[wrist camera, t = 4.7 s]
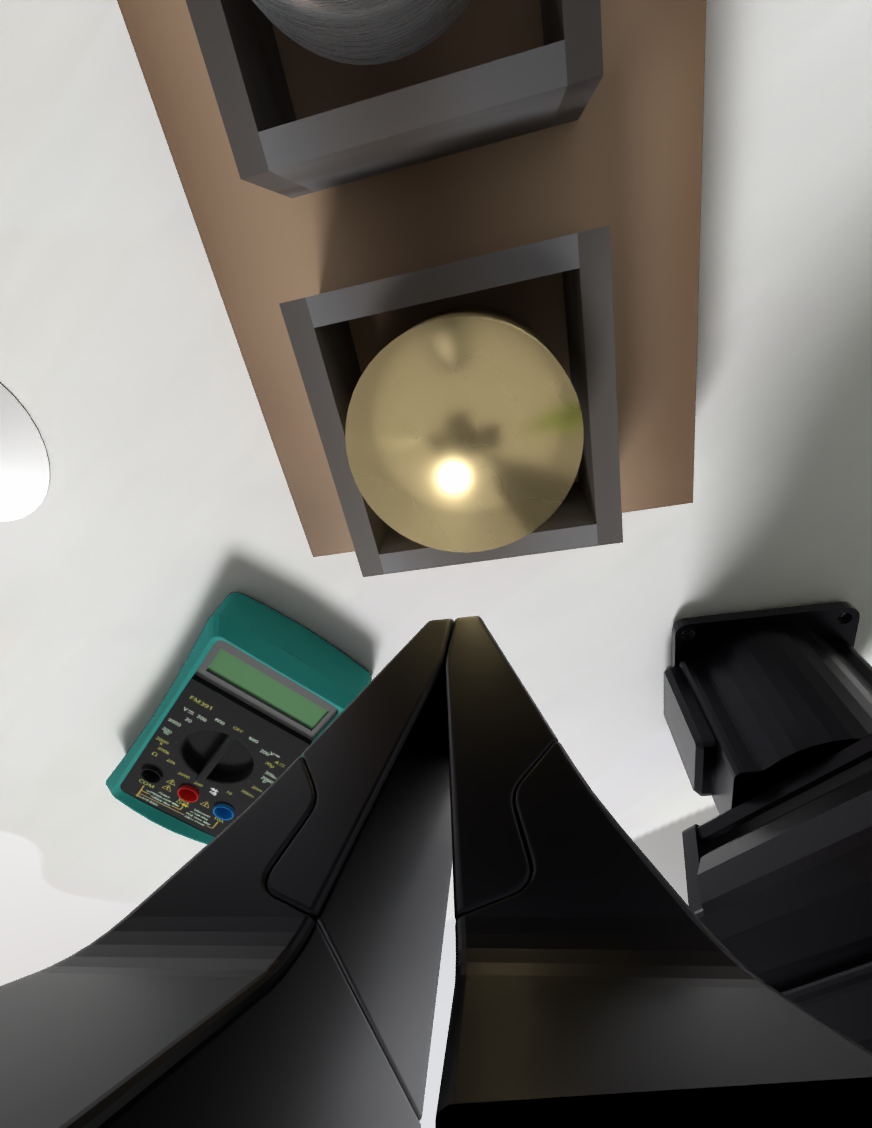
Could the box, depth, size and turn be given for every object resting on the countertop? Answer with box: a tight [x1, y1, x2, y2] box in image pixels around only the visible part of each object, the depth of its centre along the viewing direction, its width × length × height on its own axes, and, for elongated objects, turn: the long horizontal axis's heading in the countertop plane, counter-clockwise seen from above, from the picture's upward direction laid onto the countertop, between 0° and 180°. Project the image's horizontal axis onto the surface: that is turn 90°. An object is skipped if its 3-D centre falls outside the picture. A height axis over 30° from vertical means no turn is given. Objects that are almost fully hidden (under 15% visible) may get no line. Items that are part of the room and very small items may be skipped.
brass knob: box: [345, 305, 584, 553], centre depth 13 cm, size 5×5×4 cm
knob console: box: [117, 0, 706, 577], centre depth 13 cm, size 12×17×6 cm
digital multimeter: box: [106, 592, 372, 844], centre depth 25 cm, size 7×15×3 cm, turn 144°
